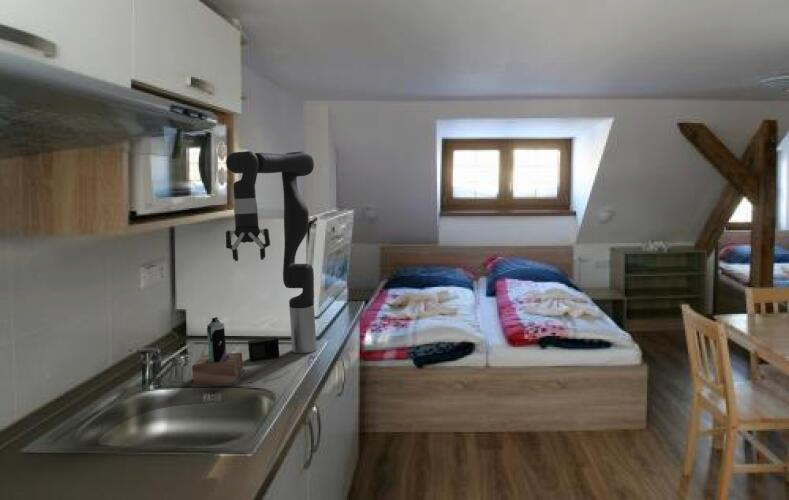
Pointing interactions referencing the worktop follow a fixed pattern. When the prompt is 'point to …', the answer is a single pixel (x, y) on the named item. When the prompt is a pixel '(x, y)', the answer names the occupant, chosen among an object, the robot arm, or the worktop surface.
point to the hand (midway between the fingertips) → (249, 260)
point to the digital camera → (263, 349)
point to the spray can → (216, 341)
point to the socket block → (218, 371)
